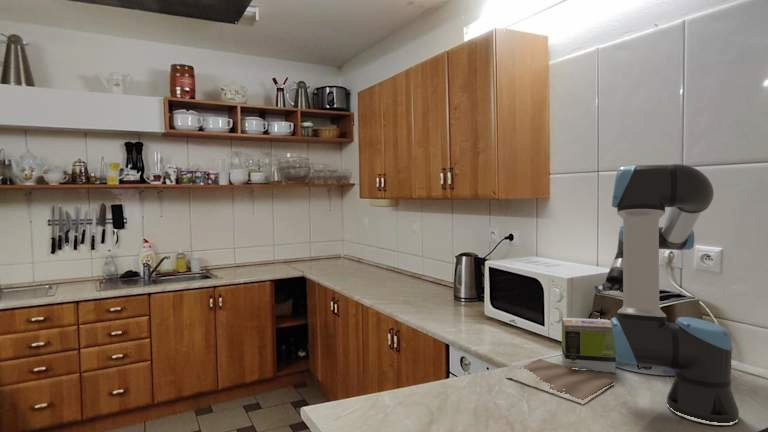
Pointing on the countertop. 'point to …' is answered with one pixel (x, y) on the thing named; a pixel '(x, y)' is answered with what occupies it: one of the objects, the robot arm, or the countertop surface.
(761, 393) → the countertop surface
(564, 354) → the tea box
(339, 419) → the countertop surface
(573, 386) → the walnut board
